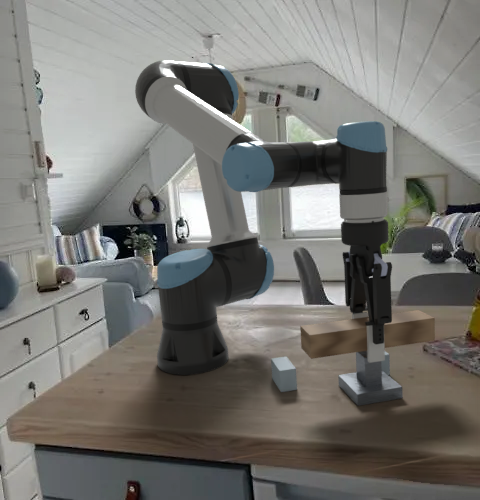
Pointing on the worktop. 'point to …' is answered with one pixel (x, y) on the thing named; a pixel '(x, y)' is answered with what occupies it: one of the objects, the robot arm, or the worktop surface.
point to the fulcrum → (369, 382)
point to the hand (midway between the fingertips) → (368, 354)
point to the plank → (365, 334)
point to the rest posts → (287, 372)
